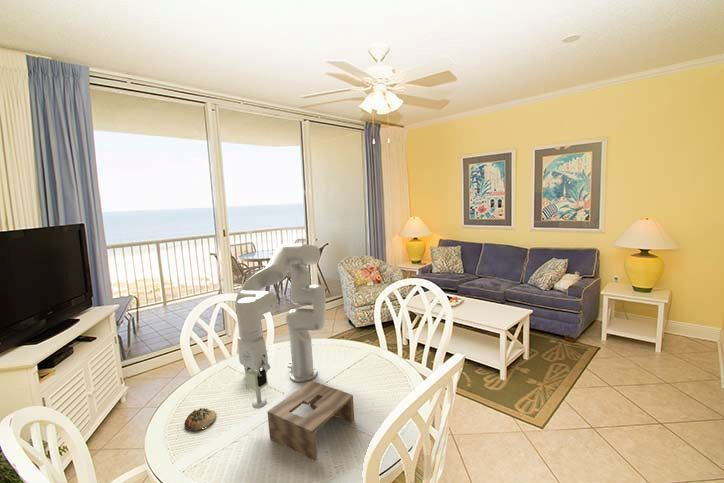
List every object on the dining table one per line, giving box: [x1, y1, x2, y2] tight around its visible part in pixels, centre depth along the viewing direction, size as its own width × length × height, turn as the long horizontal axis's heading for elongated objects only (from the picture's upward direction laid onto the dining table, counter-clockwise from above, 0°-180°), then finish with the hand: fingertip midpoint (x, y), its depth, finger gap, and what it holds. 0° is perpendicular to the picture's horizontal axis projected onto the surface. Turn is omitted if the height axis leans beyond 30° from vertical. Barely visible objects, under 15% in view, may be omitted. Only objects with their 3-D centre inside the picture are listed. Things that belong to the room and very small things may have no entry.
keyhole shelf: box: [266, 380, 355, 462], centre depth 120 cm, size 20×22×10 cm
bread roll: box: [183, 407, 217, 431], centre depth 128 cm, size 11×11×5 cm
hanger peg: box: [244, 368, 269, 410], centre depth 120 cm, size 5×5×13 cm
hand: (257, 382), depth 120 cm, fingers closed on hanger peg, 5 cm apart
